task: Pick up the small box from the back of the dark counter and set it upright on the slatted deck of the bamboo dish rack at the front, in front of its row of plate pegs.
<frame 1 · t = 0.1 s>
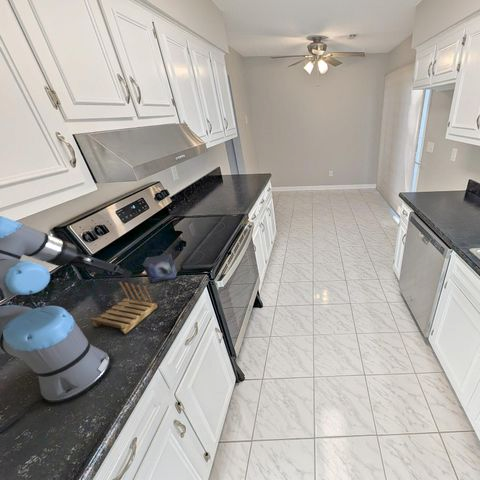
hand: (116, 273, 96), 15 cm above the worktop, tool tilted 35°, fingers open, 13 cm apart
small box: (164, 278, 119), on the worktop
dish rack: (127, 316, 97), on the worktop
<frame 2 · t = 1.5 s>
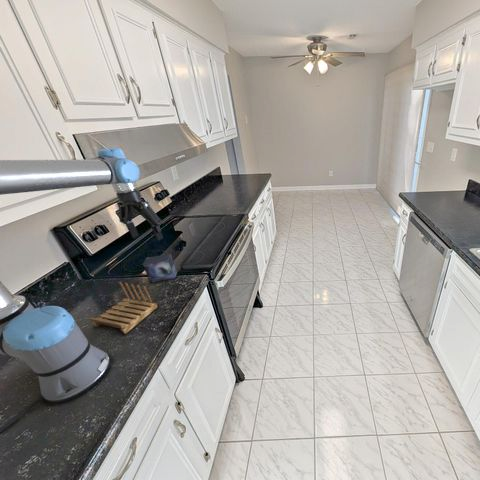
hand: (147, 238, 109), 21 cm above the worktop, tool pointing down, fingers open, 13 cm apart
nothing on the worktop moved.
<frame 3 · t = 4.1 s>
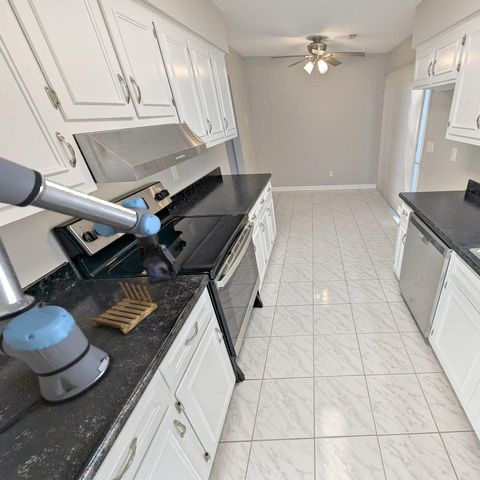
hand: (163, 275, 118), 1 cm above the worktop, tool pointing down, fingers closed on small box, 12 cm apart
small box: (164, 278, 119), on the worktop, touching gripper
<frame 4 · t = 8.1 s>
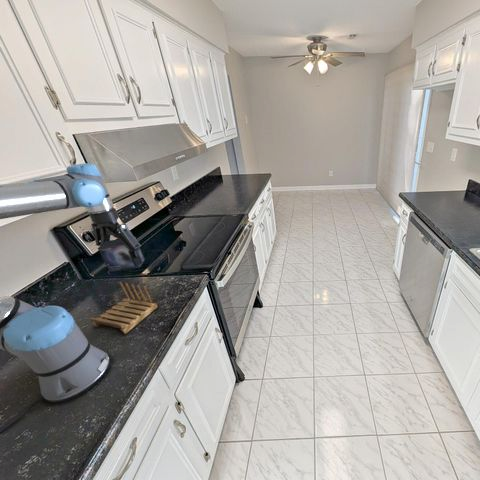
hand: (126, 263, 98), 18 cm above the worktop, tool pointing down, fingers closed on small box, 12 cm apart
small box: (128, 266, 98), point 16 cm above the worktop, touching gripper
when the fingers open (4 cm above the worktop, at t = 12.3 s): small box stays where it is, resting on dish rack.
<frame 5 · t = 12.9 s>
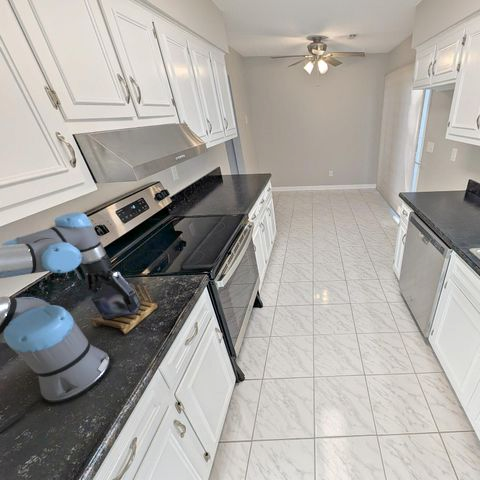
hand: (120, 307, 94), 5 cm above the worktop, tool pointing down, fingers open, 13 cm apart
small box: (123, 312, 95), point 2 cm above the worktop, touching dish rack
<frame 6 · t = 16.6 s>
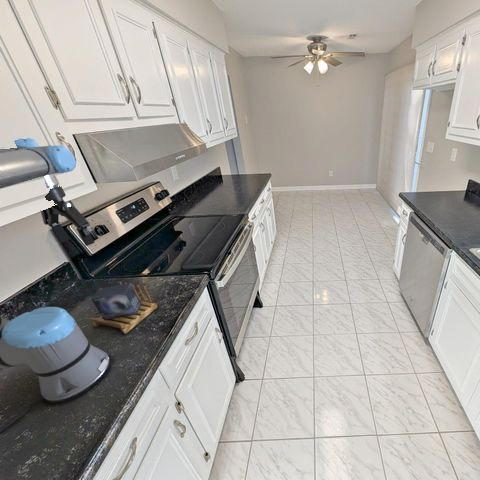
hand: (77, 242, 96), 27 cm above the worktop, tool pointing down, fingers open, 13 cm apart
nothing on the worktop moved.
at the end: small box inside the target area on the dish rack (0.0 cm from its centre), point 2.4 cm above the dish rack's base; small box tilted 0° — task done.
